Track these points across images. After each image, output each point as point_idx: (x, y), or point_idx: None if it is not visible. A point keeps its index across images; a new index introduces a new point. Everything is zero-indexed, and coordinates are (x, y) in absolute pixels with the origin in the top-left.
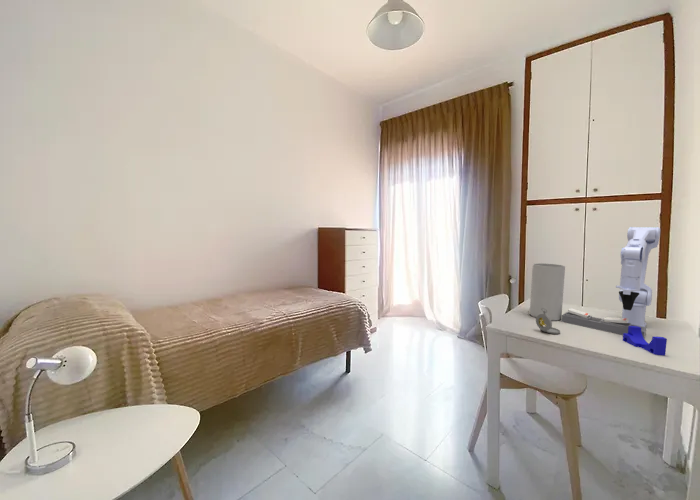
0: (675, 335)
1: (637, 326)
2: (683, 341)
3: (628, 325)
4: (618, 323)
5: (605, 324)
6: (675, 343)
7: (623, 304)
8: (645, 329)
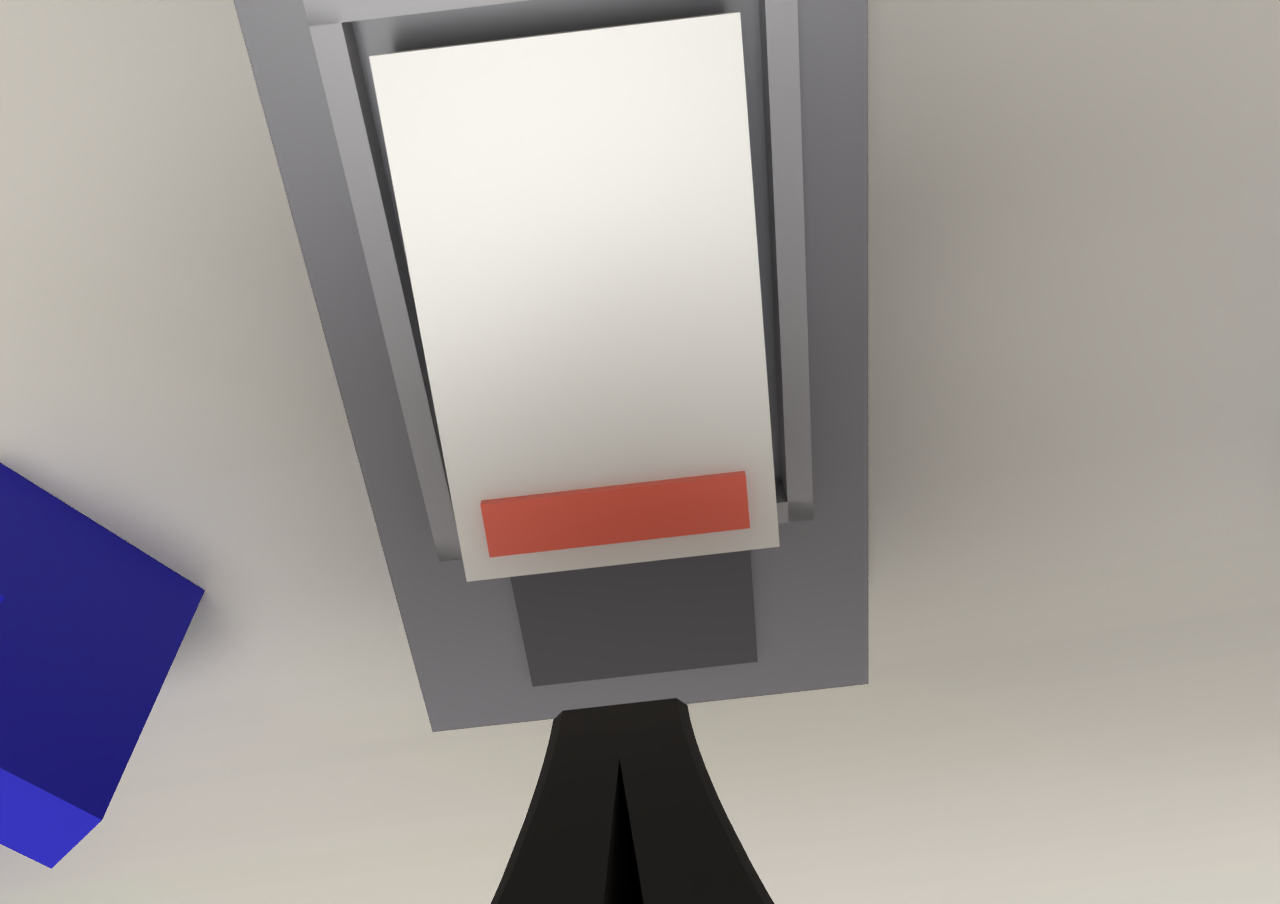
0: (1186, 797)
1: (89, 816)
2: (901, 886)
3: None
4: None
5: (270, 118)
6: None
7: (510, 863)
8: None
